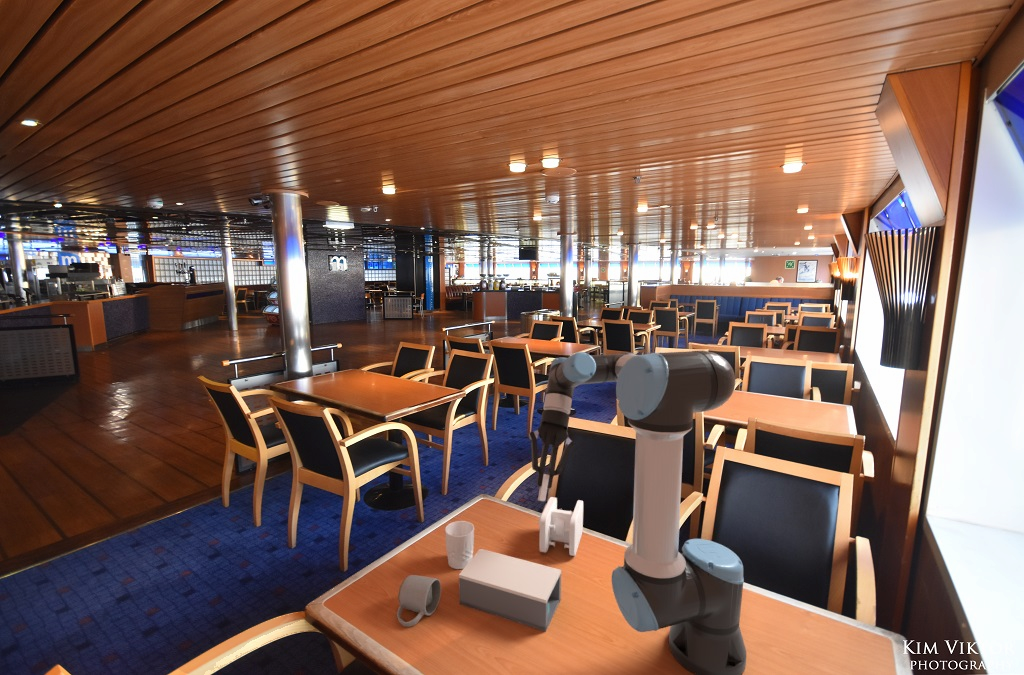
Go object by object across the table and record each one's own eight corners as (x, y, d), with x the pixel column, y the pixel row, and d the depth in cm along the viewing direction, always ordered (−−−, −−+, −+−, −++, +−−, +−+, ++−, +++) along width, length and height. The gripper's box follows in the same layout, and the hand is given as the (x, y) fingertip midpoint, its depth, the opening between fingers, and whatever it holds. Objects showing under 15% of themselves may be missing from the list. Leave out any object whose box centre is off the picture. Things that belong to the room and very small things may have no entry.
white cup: (470, 572, 126) (469, 537, 125) (442, 569, 127) (441, 534, 126) (477, 554, 134) (477, 522, 132) (450, 552, 135) (450, 519, 134)
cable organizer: (574, 563, 130) (575, 523, 128) (537, 556, 133) (537, 517, 132) (583, 534, 144) (584, 498, 143) (549, 528, 147) (549, 493, 146)
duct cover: (561, 572, 115) (561, 569, 114) (546, 603, 105) (546, 600, 104) (480, 551, 123) (480, 548, 123) (459, 577, 113) (458, 574, 113)
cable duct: (560, 600, 116) (561, 574, 115) (545, 631, 106) (546, 603, 105) (480, 576, 124) (480, 552, 123) (459, 604, 114) (459, 577, 113)
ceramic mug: (412, 593, 118) (411, 565, 117) (442, 600, 115) (441, 572, 114) (388, 624, 108) (386, 594, 107) (420, 633, 106) (418, 602, 104)
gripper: (575, 420, 135) (562, 506, 126) (531, 410, 134) (514, 495, 125) (582, 414, 128) (569, 505, 119) (535, 404, 127) (519, 494, 118)
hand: (541, 500), depth 122 cm, fingers closed
